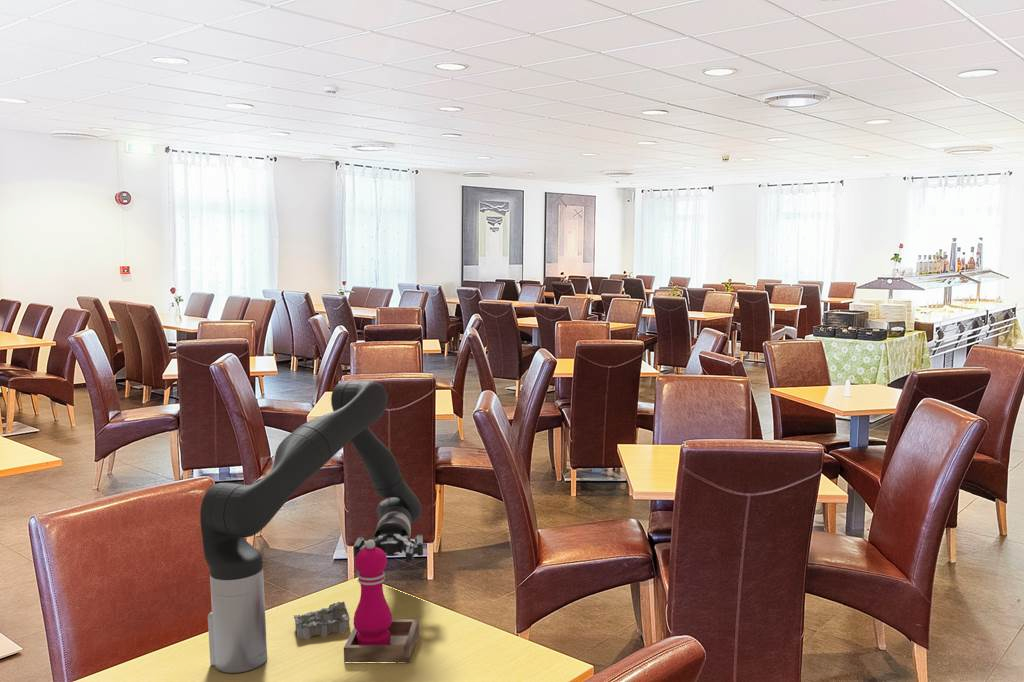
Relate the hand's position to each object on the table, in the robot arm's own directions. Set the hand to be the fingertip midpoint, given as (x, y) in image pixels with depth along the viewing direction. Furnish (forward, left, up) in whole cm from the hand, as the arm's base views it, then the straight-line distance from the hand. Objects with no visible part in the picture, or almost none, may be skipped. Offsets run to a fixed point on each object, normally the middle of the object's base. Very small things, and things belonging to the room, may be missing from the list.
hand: (386, 558), depth 169 cm
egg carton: (-11, -6, -14) cm, 19 cm away
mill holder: (+5, -10, -13) cm, 17 cm away
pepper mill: (+3, -10, -13) cm, 17 cm away
